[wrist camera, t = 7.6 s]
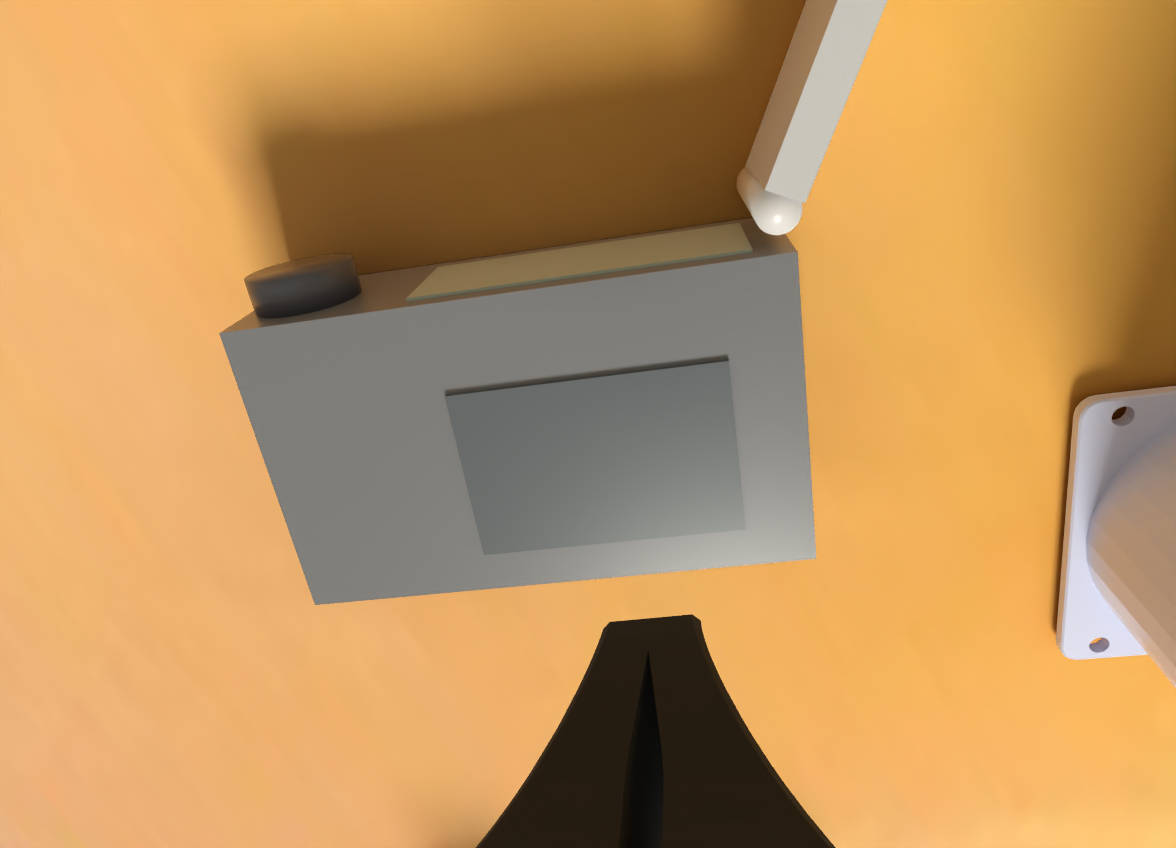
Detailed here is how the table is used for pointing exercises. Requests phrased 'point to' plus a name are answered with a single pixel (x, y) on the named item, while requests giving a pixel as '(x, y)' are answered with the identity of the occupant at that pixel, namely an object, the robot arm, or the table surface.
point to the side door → (805, 108)
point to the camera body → (534, 412)
